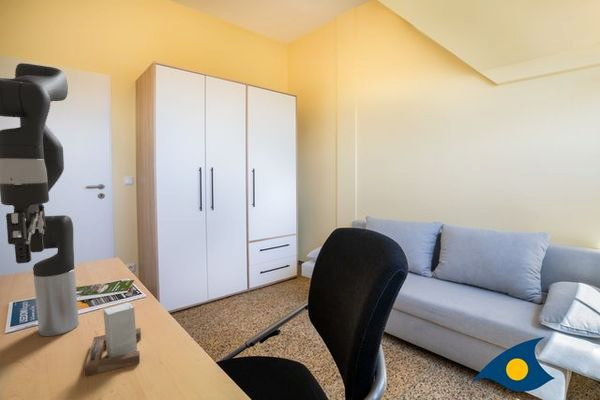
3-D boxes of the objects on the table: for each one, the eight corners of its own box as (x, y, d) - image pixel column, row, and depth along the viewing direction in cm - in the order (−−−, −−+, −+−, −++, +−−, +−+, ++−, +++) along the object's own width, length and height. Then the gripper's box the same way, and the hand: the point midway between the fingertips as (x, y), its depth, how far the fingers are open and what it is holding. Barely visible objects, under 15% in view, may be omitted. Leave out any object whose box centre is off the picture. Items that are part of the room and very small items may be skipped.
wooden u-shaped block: (94, 344, 82) (93, 334, 82) (140, 334, 87) (140, 325, 87) (84, 376, 70) (84, 364, 69) (139, 362, 74) (138, 352, 74)
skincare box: (131, 344, 82) (129, 301, 81) (137, 351, 79) (135, 306, 78) (105, 354, 78) (102, 309, 76) (110, 361, 75) (107, 315, 73)
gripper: (13, 179, 68) (20, 250, 70) (-17, 183, 56) (-8, 269, 58) (55, 179, 72) (61, 247, 74) (36, 182, 59) (43, 264, 61)
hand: (31, 256), depth 66 cm, fingers open, 8 cm apart
